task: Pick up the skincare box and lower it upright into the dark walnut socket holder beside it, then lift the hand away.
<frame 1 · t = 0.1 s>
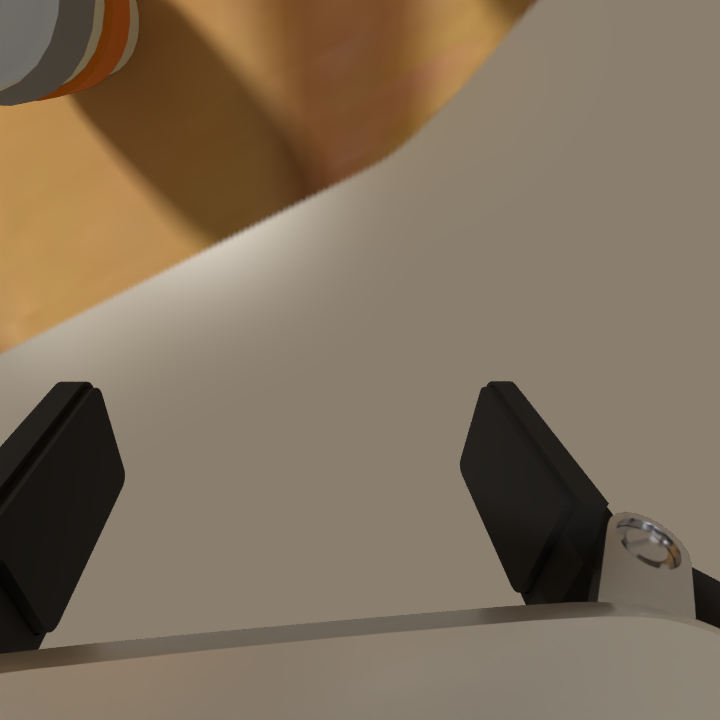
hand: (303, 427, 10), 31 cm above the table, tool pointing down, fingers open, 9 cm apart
reusable coffee cup: (70, 0, 28), on the table
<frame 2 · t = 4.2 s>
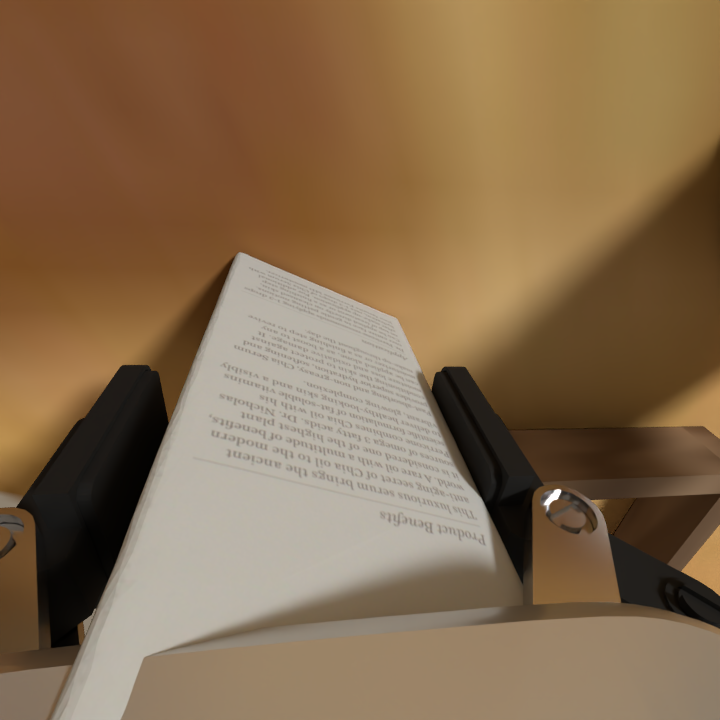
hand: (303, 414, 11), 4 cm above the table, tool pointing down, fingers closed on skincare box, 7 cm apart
socket: (541, 519, 22), on the table
skincare box: (302, 333, 15), on the table, touching gripper
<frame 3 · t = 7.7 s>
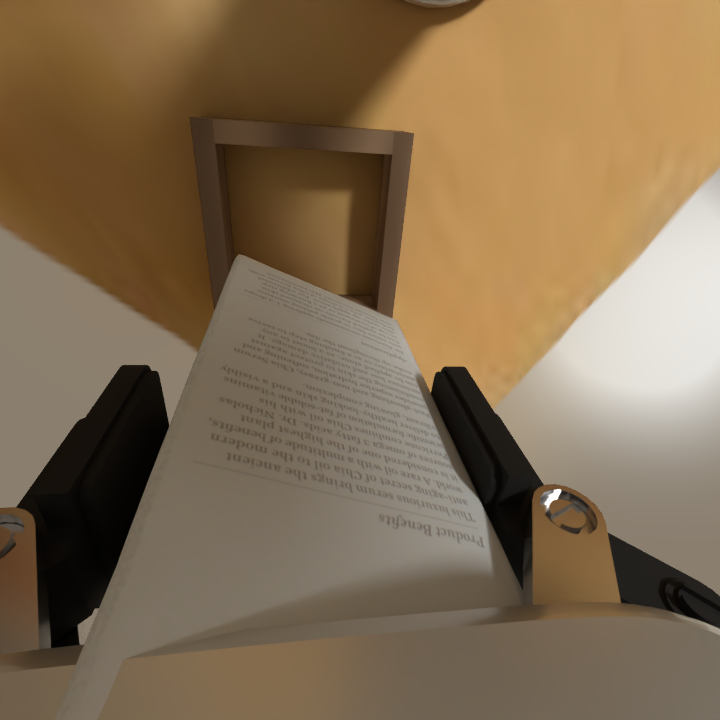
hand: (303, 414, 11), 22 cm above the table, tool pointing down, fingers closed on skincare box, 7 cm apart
socket: (305, 226, 29), on the table
skincare box: (301, 335, 15), point 17 cm above the table, touching gripper
when the fingers open (5 cm above the table, at t = 11.2 s): skincare box stays where it is, resting in socket.
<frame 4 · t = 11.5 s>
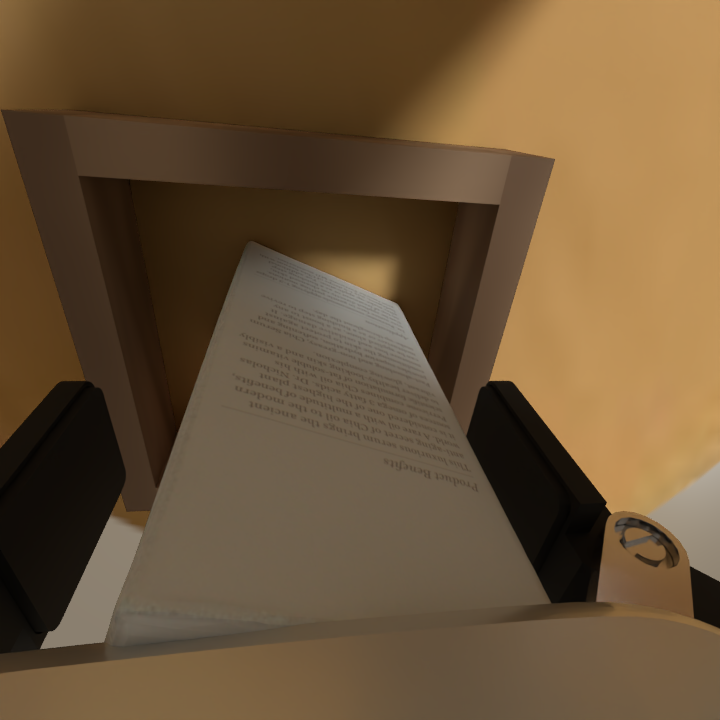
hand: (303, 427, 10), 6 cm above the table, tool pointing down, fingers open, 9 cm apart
socket: (301, 324, 15), on the table
skincare box: (308, 319, 16), resting in socket
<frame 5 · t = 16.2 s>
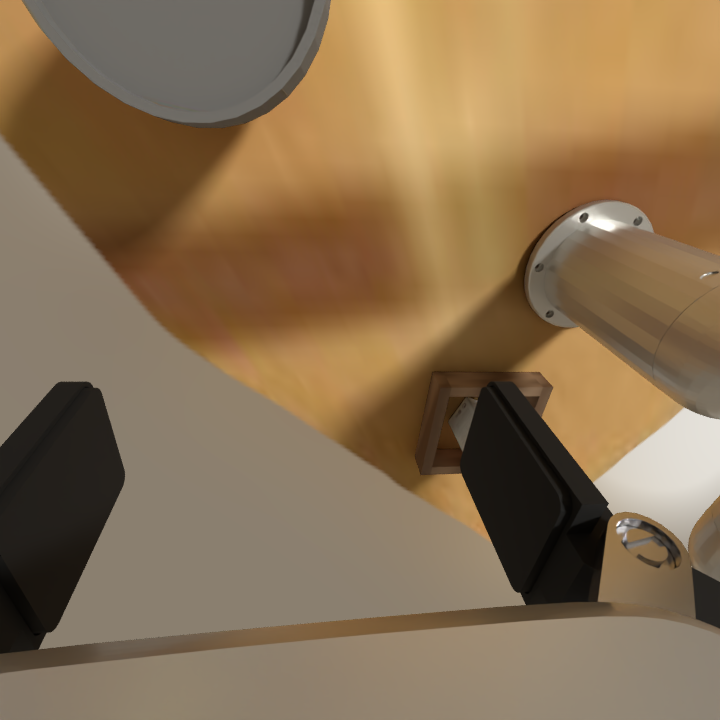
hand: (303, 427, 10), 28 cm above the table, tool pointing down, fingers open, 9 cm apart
socket: (474, 416, 49), on the table
skincare box: (475, 414, 49), resting in socket
reusable coffee cup: (227, 14, 28), on the table
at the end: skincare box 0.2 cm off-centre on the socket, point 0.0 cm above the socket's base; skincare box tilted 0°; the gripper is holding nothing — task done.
